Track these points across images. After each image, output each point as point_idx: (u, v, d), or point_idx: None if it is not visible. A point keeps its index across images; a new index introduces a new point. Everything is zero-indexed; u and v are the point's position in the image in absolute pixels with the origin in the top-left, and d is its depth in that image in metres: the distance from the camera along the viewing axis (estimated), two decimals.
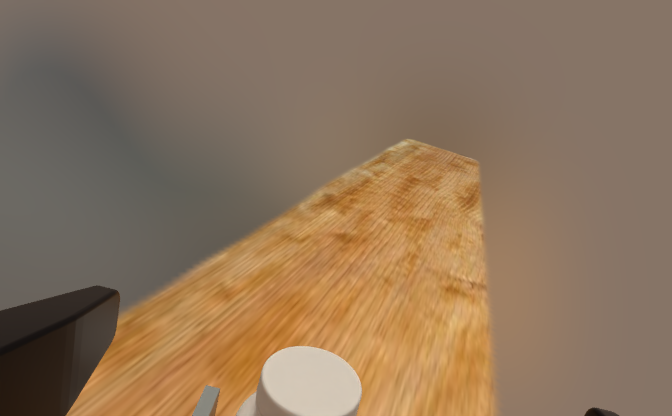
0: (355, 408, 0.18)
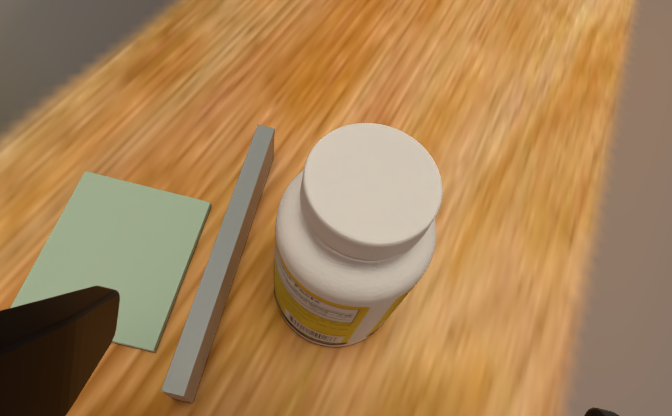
0: (430, 223, 0.13)
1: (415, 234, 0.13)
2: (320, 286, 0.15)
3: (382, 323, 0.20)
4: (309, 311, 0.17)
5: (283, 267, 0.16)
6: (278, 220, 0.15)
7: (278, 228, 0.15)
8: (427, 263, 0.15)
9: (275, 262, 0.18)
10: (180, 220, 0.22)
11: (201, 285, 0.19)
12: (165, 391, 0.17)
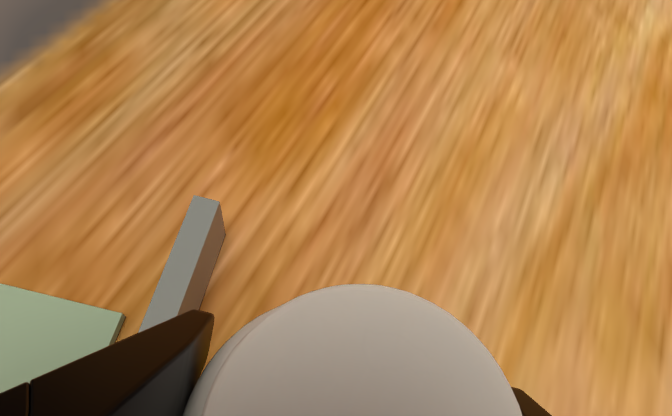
0: None
1: None
2: None
3: None
4: None
5: None
6: None
7: None
8: None
9: None
10: (71, 345, 0.14)
11: None
12: None
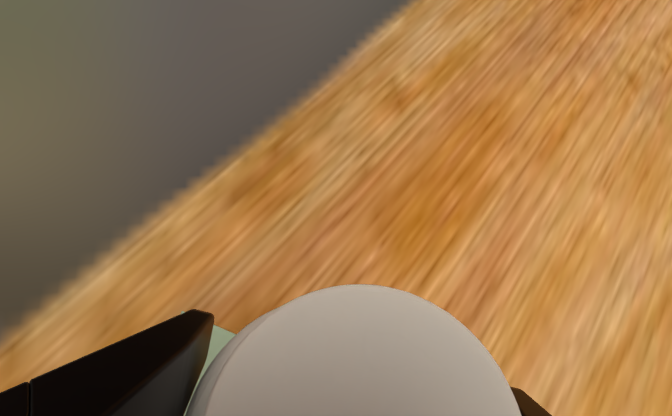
0: None
1: None
2: None
3: None
4: None
5: None
6: None
7: None
8: None
9: None
10: None
11: None
12: None
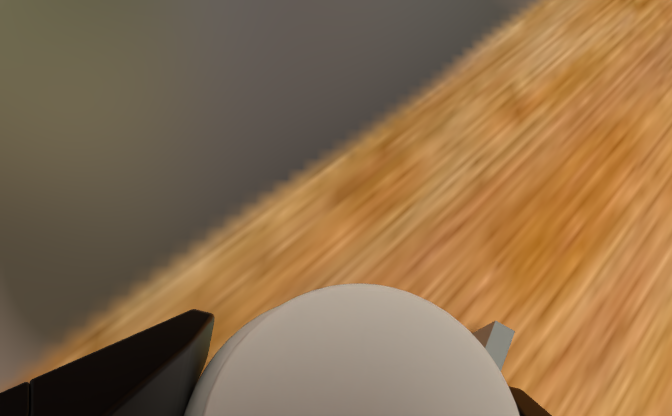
0: None
1: None
2: None
3: None
4: None
5: None
6: None
7: None
8: None
9: None
10: None
11: None
12: None
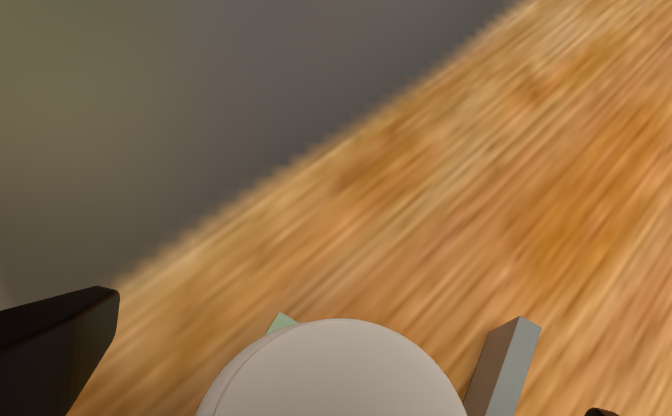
0: None
1: None
2: None
3: None
4: None
5: None
6: None
7: None
8: None
9: None
10: None
11: None
12: None
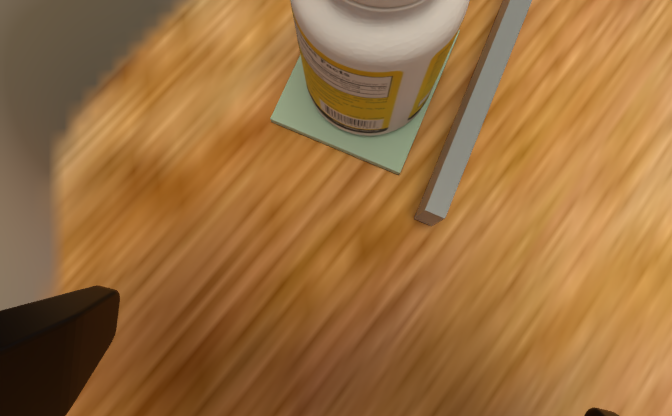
0: None
1: None
2: (346, 52, 0.14)
3: (422, 102, 0.19)
4: (342, 92, 0.16)
5: (306, 43, 0.15)
6: None
7: None
8: (462, 11, 0.14)
9: (299, 46, 0.16)
10: None
11: (465, 116, 0.18)
12: (427, 211, 0.18)
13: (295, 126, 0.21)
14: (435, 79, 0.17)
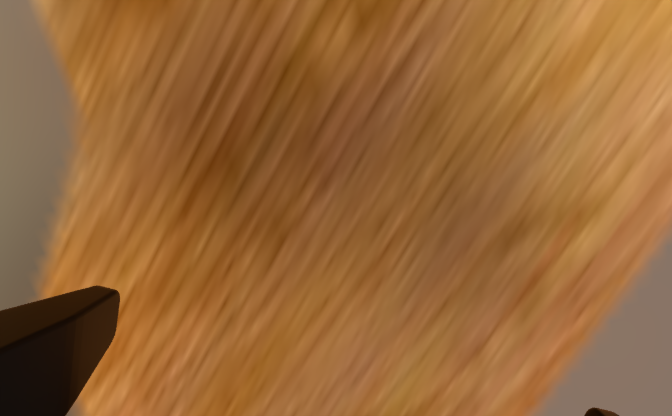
0: None
1: None
2: None
3: None
4: None
5: None
6: None
7: None
8: None
9: None
10: None
11: None
12: None
13: None
14: None
